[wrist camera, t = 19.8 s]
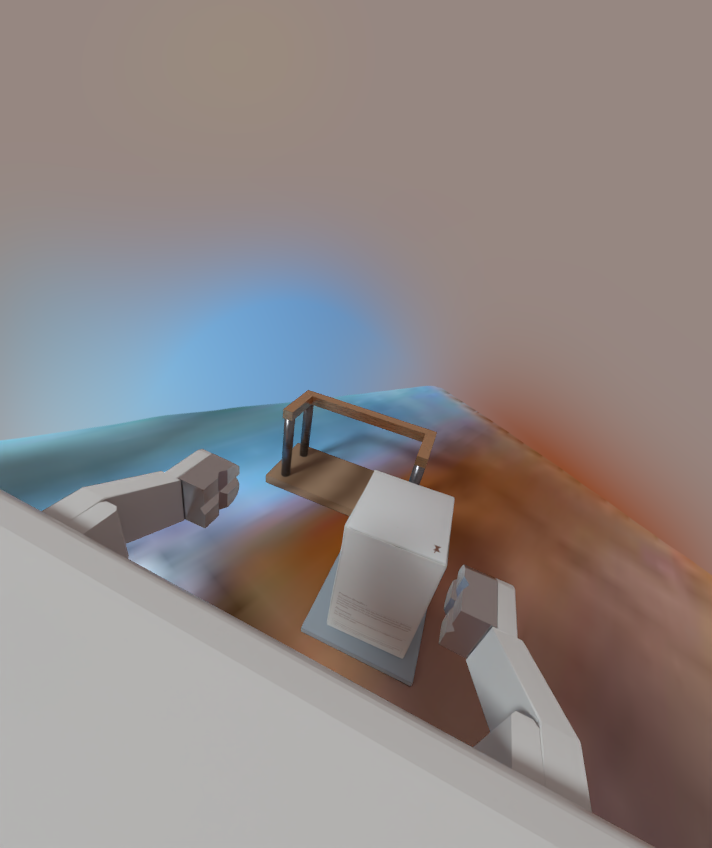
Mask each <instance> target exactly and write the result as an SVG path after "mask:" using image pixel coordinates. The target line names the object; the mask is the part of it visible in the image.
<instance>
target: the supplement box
mask: <svg viewBox="0 0 712 848" xmlns="http://www.w3.org/2000/svg"><path fill="white" fill-rule="evenodd" d="M454 499H455V498H454V497H452V496H449V495H446V494H443V493H440V492H437V491H434V490H431V489H428V488H426V487H423V486H420V485H417V484H414V483H411V482H408V481H405V480H402V479H400V478H397V477H394V476H391V475H388V474H385V473H383V472H380V471H377V470H374V473H373V475H372V477H371V478H370V480H369V482H368V484H367V486H366V488H365V490H364V491H363V493H362V495H361V497H360V499H359V500H358V502H357V504H356V506H355V508H354V509H353V511H352V513H351V515H350V517H349V519H348V520H347V522H346V524H345V527H344V535H343V542H342V547H341V552H340V557H339V562H338V567H337V571H336V576H335V581H334V586H333V591H332V596H331V601H330V607H329V613H328V618H327V625H329V626H331V627H334V628H336V629H338V630H340V631H342V632H344V633H347V634H349V635H351V636H353V637H355V638H358V639H360V640H362V641H364V642H366V643H368V644H371V645H373V646H375V647H377V648H379V649H382V650H384V651H386V652H388V653H390V654H393V655H395V656H397V657H399V658H401V659H403V658H404V656H405V654H406V652H407V650H408V648H409V646H410V643H411V641H412V639H413V637H414V635H415V633H416V631H417V629H418V627H419V624H420V622H421V620H422V618H423V616H424V614H425V612H426V610H427V608H428V606H429V603H430V601H431V599H432V597H433V595H434V593H435V591H436V589H437V587H438V585H439V582H440V580H441V578H442V576H443V574H444V572H445V570H446V568H447V562H448V553H449V543H450V533H451V524H452V515H453V507H454Z"/></svg>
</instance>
